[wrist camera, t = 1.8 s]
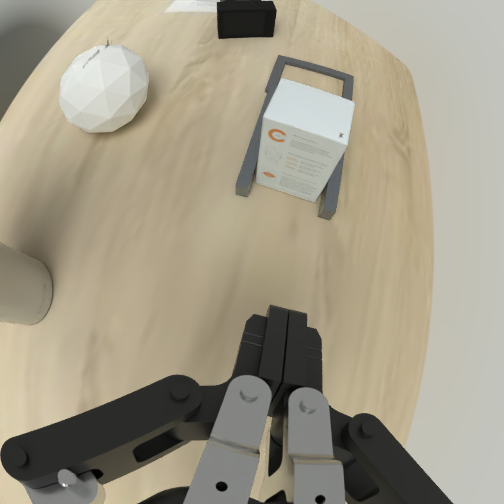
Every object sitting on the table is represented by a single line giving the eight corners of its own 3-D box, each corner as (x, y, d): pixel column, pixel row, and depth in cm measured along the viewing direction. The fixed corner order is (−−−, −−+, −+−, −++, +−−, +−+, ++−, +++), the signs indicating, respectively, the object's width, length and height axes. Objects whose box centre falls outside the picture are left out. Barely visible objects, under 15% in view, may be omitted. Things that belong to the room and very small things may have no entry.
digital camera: (269, 24, 47) (272, -2, 40) (273, 37, 46) (277, 9, 39) (217, 26, 46) (216, -1, 39) (218, 39, 45) (217, 10, 38)
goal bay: (265, 92, 41) (265, 89, 41) (278, 57, 44) (278, 55, 43) (349, 115, 41) (350, 113, 40) (352, 78, 44) (353, 76, 43)
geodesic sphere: (93, 53, 36) (47, 37, 23) (168, 45, 36) (136, 17, 24) (85, 132, 42) (35, 138, 29) (159, 130, 42) (122, 132, 29)
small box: (325, 164, 38) (357, 101, 26) (314, 204, 37) (349, 146, 24) (268, 145, 39) (280, 75, 26) (253, 183, 37) (261, 117, 24)
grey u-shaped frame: (235, 194, 37) (235, 185, 34) (269, 95, 41) (270, 84, 39) (329, 220, 36) (335, 212, 34) (344, 116, 41) (349, 106, 39)
